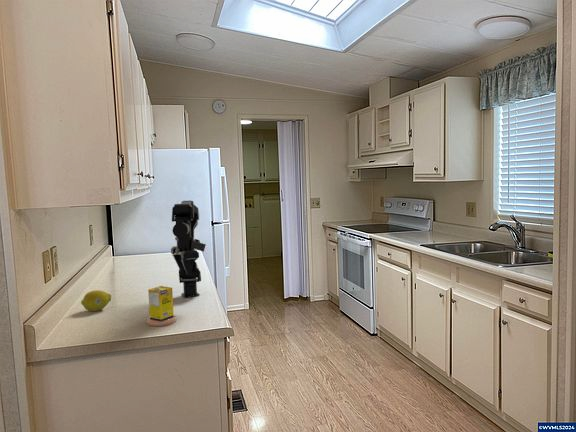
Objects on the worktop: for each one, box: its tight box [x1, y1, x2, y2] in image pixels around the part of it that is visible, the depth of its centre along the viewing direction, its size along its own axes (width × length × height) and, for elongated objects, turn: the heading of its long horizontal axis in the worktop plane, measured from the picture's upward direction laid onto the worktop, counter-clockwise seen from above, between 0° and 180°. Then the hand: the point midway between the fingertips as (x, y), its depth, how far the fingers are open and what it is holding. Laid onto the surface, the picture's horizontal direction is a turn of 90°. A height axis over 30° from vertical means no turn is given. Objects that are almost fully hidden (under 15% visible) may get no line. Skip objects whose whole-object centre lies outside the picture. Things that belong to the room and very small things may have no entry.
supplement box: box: [147, 285, 175, 322], centre depth 150 cm, size 6×6×11 cm
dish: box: [146, 315, 177, 327], centre depth 150 cm, size 10×10×1 cm
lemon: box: [80, 289, 112, 312], centre depth 166 cm, size 11×8×8 cm
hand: (185, 273), depth 170 cm, fingers open, 9 cm apart
